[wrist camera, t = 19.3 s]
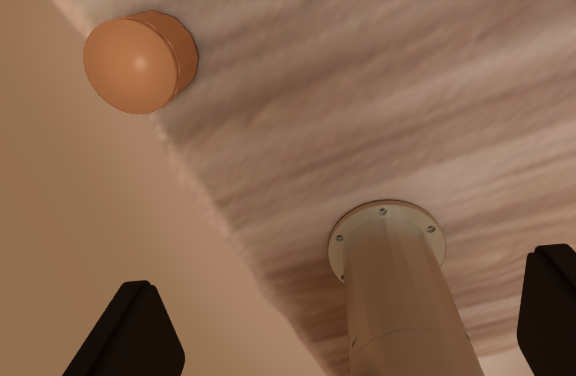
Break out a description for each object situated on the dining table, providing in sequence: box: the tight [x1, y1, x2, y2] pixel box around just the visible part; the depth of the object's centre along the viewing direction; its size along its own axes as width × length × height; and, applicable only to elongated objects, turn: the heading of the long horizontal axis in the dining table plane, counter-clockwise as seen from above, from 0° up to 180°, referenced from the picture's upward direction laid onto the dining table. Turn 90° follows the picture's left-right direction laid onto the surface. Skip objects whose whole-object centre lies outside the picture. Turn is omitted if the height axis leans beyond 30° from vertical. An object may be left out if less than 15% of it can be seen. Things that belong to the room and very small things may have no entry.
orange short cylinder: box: [83, 10, 198, 114], centre depth 32 cm, size 7×7×6 cm
